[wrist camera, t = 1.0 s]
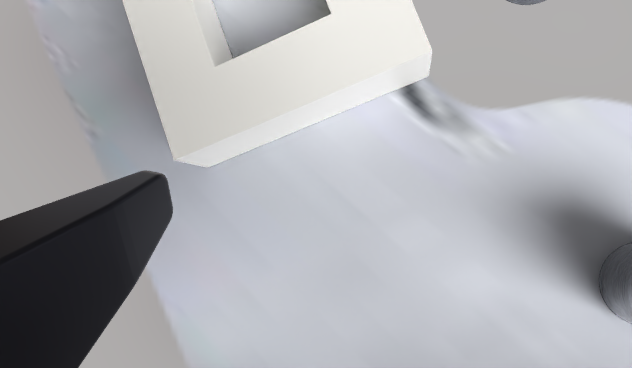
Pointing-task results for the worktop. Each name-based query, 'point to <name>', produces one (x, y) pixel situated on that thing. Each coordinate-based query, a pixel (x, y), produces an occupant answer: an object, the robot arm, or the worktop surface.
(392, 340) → the worktop surface
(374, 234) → the worktop surface
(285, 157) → the worktop surface
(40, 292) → the robot arm
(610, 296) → the short pin
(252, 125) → the hole block
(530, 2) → the long pin
